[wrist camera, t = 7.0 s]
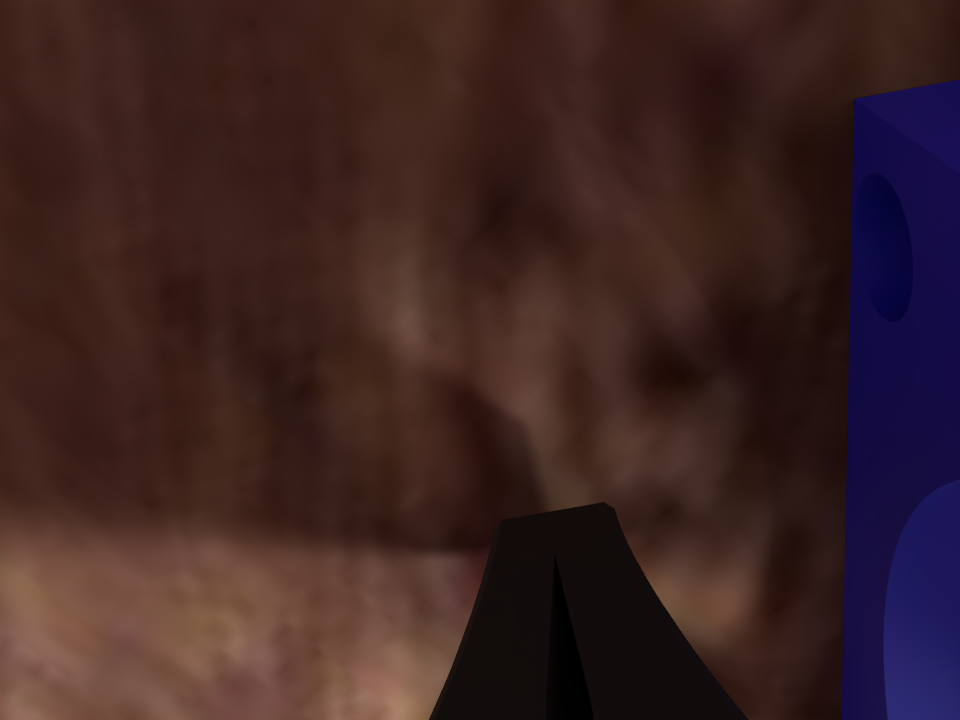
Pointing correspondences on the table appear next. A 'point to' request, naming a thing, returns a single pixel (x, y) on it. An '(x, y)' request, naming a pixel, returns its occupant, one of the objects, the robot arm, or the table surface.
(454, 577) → the table surface
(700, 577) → the table surface
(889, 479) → the cable clip
